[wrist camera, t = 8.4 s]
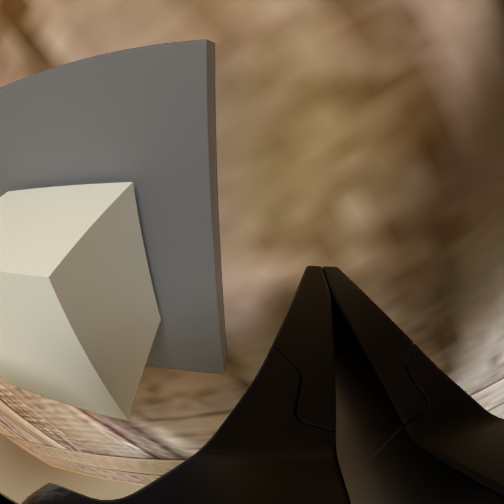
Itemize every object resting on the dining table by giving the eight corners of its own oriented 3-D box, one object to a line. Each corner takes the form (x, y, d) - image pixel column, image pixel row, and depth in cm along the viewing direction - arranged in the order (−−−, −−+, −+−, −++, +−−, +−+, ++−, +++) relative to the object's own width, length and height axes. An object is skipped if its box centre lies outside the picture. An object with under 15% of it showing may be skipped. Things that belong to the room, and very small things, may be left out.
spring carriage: (133, 181, 8) (49, 277, 4) (160, 319, 10) (128, 420, 7) (7, 191, 8) (-72, 260, 4) (50, 304, 11) (5, 381, 7)
